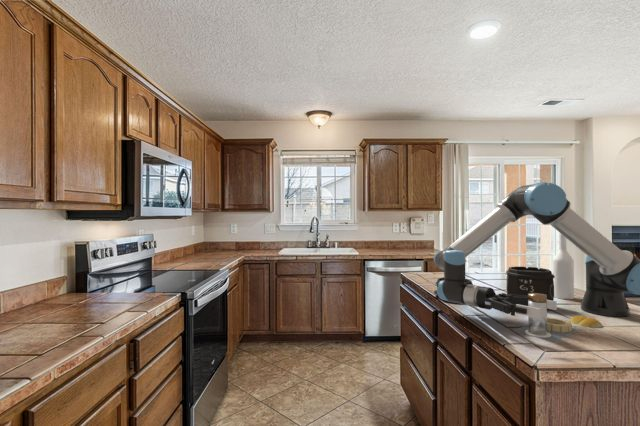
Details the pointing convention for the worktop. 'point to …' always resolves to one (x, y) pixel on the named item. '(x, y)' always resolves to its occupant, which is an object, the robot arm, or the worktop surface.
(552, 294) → the labelled black crock
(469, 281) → the casserole
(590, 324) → the bread roll
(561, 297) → the bottle
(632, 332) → the worktop surface
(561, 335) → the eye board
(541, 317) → the jar with brown lid
